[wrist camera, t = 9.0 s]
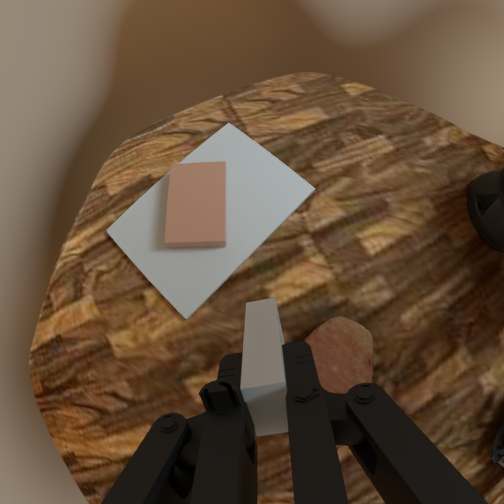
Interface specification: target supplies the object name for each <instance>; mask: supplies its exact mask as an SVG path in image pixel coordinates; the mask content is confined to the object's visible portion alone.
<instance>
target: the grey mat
mask: <svg viewBox="0 0 504 504" xmlns="http://www.w3.org/2000/svg"><path fill="white" fill-rule="evenodd" d="M221 161H226V169H227V177H226V246H214V247H178V248H168V247H167V245H166V244H165V243H164V241H165V225H166V212H167V199H168V188H169V178H170V171H169V172H168V173H167V174H166V175H165V176H163V177H162V178H161V179H160V180H159V181H158V182H157V183H156V184H155V185H153V186H152V187H151V188H150V189H149V190H148V191H147V192H146V193H145V194H144V195H142V196H141V197H140V198H139V199H138V200H137V201H136V202H135V203H134V204H133V205H132V206H131V207H130V208H129V209H128V210H127V211H126V212H124V213H123V214H122V215H121V216H120V217H119V218H118V219H117V220H116V221H115V222H114V223H113V224H112V225H111V226H110V227H109V228H108V229H107V230H106V231H107V233H108V234H109V235H110V236H111V237H112V239H113V240H114V241H115V242H116V243H117V245H118V246H119V247H120V248H121V249H122V250H123V252H124V253H125V254H126V255H127V256H128V257H129V258H130V260H131V261H132V262H133V263H134V264H135V265H136V266H137V268H138V269H139V270H140V271H141V272H142V273H143V274H144V275H145V276H146V278H147V279H148V280H149V281H150V282H151V283H152V284H153V285H154V286H155V287H156V288H157V290H158V291H159V292H160V293H161V294H162V295H163V296H164V297H165V298H166V299H167V300H168V301H169V302H170V303H171V304H172V305H173V307H174V308H175V309H176V310H177V311H178V312H179V313H180V314H181V315H182V316H183V317H184V318H185V319H186V320H188V319H189V318H190V316H191V315H192V314H193V313H194V312H195V311H196V310H197V309H198V308H199V307H200V306H201V305H202V304H203V303H204V302H205V301H206V300H207V299H208V298H209V297H210V296H211V295H212V294H213V293H214V292H215V291H216V290H217V289H218V288H219V287H220V286H221V285H222V284H223V283H224V282H225V281H226V280H227V279H228V278H229V277H230V276H231V275H232V274H233V273H234V272H235V271H236V270H237V269H238V268H239V267H240V266H241V265H242V264H243V263H244V262H245V261H246V260H247V259H248V258H249V257H250V256H251V255H252V254H253V253H254V252H255V251H256V250H257V249H258V248H259V247H260V245H261V244H262V243H263V242H264V241H265V240H266V239H267V238H268V237H269V236H270V235H271V234H272V233H273V232H274V231H275V230H276V229H277V228H278V227H279V226H280V225H281V224H282V223H283V222H284V221H285V220H286V219H287V218H288V217H289V216H290V215H291V214H292V213H293V212H294V211H295V210H296V209H297V208H298V207H299V206H300V205H301V204H302V203H303V202H304V201H305V200H306V199H307V198H308V197H309V196H310V195H311V194H312V193H313V192H314V190H315V188H314V187H313V186H311V185H310V184H309V183H308V182H306V181H305V180H304V179H303V178H301V177H300V176H299V175H298V174H296V173H295V172H294V171H293V170H291V169H290V168H289V167H288V166H286V165H285V164H284V163H282V162H281V161H280V160H278V159H277V158H276V157H275V156H273V155H272V154H271V153H269V152H268V151H267V150H265V149H264V148H263V147H261V146H260V145H259V144H257V143H256V142H255V141H253V140H252V139H251V138H249V137H248V136H246V135H245V134H244V133H242V132H241V131H240V130H238V129H237V128H235V127H234V126H233V125H231V124H230V123H228V124H227V125H225V126H224V127H223V128H221V129H220V130H219V131H218V132H216V133H215V134H214V135H213V136H211V137H210V138H209V139H207V140H206V141H205V142H204V143H203V144H201V145H200V146H199V147H198V148H196V149H195V150H194V151H193V152H192V153H190V154H189V155H188V156H187V157H186V158H184V159H183V160H182V161H181V162H180V163H178V164H183V163H199V162H221Z"/></svg>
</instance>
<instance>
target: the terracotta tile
mask: <svg viewBox="0 0 504 504" xmlns="http://www.w3.org/2000/svg"><path fill="white" fill-rule="evenodd" d="M226 177H227V169H226V161H221V162H199V163H183V164H171V168H170V178H169V188H168V199H167V212H166V225H165V241H164V243H165V244H166V245H167V247H168V248H178V247H214V246H226Z"/></svg>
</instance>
